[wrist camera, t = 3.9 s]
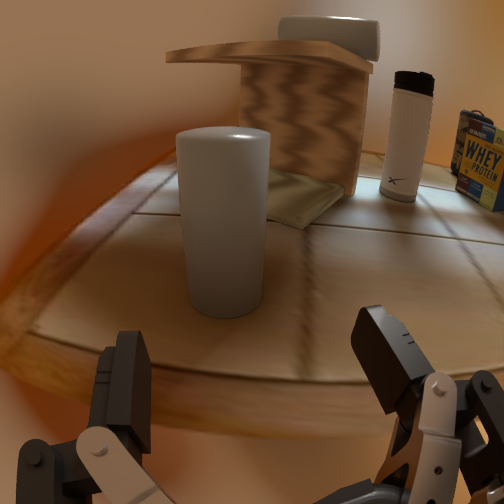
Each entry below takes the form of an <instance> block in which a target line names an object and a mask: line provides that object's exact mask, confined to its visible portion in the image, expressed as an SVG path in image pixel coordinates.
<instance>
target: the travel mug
mask: <svg viewBox="0 0 504 504" xmlns="http://www.w3.org/2000/svg"><path fill="white" fill-rule="evenodd" d="M434 81H435V79H434V78H433V77H432V75H430V74H428V73H425V72H420V73H417V72H410V71H397V72H395V81H394V82H395V84H394V88H393V91H394V93H393V98H392V109H391V117H390V124H389V132H388V139H387V146H386V153H385V159H384V165H383V171H382V177H381V182H380V188H379V190H380V192H381V193H382V194H383V195H385V196H387V197H389V198H391V199H394V200H397V201H402V202H412V201H414V200H415V199H416V195H417V190H418V186H419V182H420V177H421V172H422V167H423V162H424V157H425V152H426V146H427V140H428V134H429V127H430V120H431V113H432V105H433V103H432V101H433V91H434Z"/></svg>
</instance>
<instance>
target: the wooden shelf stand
mask: <svg viewBox="0 0 504 504" xmlns="http://www.w3.org/2000/svg"><path fill="white" fill-rule="evenodd" d="M166 63H220V64H237V65H241V82H240V127H246V128H254V129H259V130H263V131H266V132H268V133H270V135H271V138H270V159H269V180H268V199H267V218H268V219H271V220H274V221H277V222H280V223H283V224H286V225H289V226H292V227H295V228H298V229H301V230H303V229H304V228H305V227H306V226H308V225H309V224H310V223H311V222H312V221H314V220H315V219H316V218H317V217H318V216H320V215H321V214H322V213H323V212H324V211H325V210H327V209H328V208H329V207H330V206H331V205H333V204H334V203H335V202H336V201H337V200H339V199H340V198H341V197H342V196H343V195H344V194H345V195H348V196H352V195H353V194H354V193H355V189H356V183H357V177H358V170H359V163H360V156H361V149H362V141H363V133H364V123H365V115H366V105H367V95H368V82H369V74H373V64H372V63H370V62H368V61H367V60H365V59H363V58H361V57H359V56H357V55H355V54H353V53H352V52H350V51H348V50H346V49H344V48H342V47H339V46H337V45H335V44H333V43H331V42H328V41H304V40H278V41H277V40H276V41H252V42H239V43H226V44H216V45H208V46H200V47H194V48H187V49H181V50H175V51H170V52H166Z"/></svg>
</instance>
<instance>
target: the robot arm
mask: <svg viewBox="0 0 504 504" xmlns="http://www.w3.org/2000/svg"><path fill="white" fill-rule="evenodd" d="M351 345H352V348H353V351H354V353H355V355H356V357H357V358H358V360H359V362H360V364H361V366H362V368H363V370H364V372H365V374H366V376H367V378H368V380H369V382H370V384H371V386H372V388H373V390H374V392H375V394H376V396H377V398H378V400H379V402H380V404H381V406H382V408H383V410H384V412H385V414H386V415H387V414H390V413H393V412H395V411H396V412H397V414H398V416H397V418H396V421H395V425H394V429H393V433H392V437H391V441H390V445H389V449H388V453H387V456H386V459H385V461H384V463H383V465H382V466H381V468H380V470H379V471H378V474H377V476H376V478H375V481H374V483H371V480H370V479H367V480H364V481H361V482H358V483H356V484H353V485H350V486H347V487H344V488H340V489H339V490H337V491H335V492H334V493H332V494H330V495H328V496H327V497H325V498H323V499H321V500H319V501H317V502H315V503H313V504H452V503H453V498H454V494H455V488H456V483H457V477H458V471H459V468H460V470H461V472H462V474H463V477H464V480H465V482H466V485H467V487H468V490H469V493H470V495H471V500H470V503H468V504H504V391H503V389H502V388H501V386H500V384H499V383H498V381H497V379H496V378H495V377H494V376H493V375H492V374H491V373H490V372H488V371H484V370H480V371H477V372H476V373H475V374H474V375H473V377H472V378H471V379H470V380H457V381H453V379H452V378H451V377H450V376H448V375H446V374H444V373H440V372H435V370H434V369H433V368H432V366H431V365H430V363H429V361H428V360H427V358H426V357H425V355H424V354H423V352H422V351H421V349H420V348H419V346H418V345H417V343H415V341H414V339H413V338H412V336H411V335H409V332H408V330H407V329H406V327H405V326H404V325H403V323H402V322H400V321H399V320H398V319H396V318H395V317H394V316H389V315H388V313H387V312H386V311H385V309H384V308H383V307H382V306H381V305H374V306H368V307H362V308H361V309H360V311H359V314H358V317H357V320H356V323H355V326H354V328H353V331H352V334H351ZM150 408H151V363H150V358H149V355H148V352H147V349H146V346H145V343H144V340H143V336H142V333H141V331H120V332H119V333H118V336H117V342H116V347H106V348H105V350H104V351H103V353H102V354H101V356H100V357H99V360H98V365H97V374H96V376H95V384H94V388H93V395H92V401H91V408H90V417H89V423H88V426H87V428H86V430H85V431H83V432H82V433H81V434H80V436H79V437H78V438H77V439H75V440H73V441H70V442H66V443H61V444H56V445H51V446H50V445H48V444H47V443H46V442H45V441H42V440H40V439H32V440H29V441H27V442H26V443H25V444H24V445H23V446H22V448H21V449H20V452H19V459H18V469H17V484H16V504H92V494H96V493H101V492H103V493H104V494H105V496H106V497H107V498H108V499H109V501H110V502H111V503H112V504H177V503H176V502H175V501H174V500H173V499H172V498H171V497H170V496H169V495H168V494H167V493H166V492H165V491H164V490H163V489H162V488H161V487H160V485H158V483H157V482H156V481H155V480H154V479H153V478H152V477H151V476H150V474H149V473H148V472H147V471H146V470H145V469H144V468H143V467H142V454H150V453H151V440H150ZM477 415H478V417H479V419H480V421H481V423H482V425H483V427H484V429H485V430H486V433H487V434H488V438H489V441H488V444H486V443H485V441H484V439H483V438H482V435H481V433H480V431H479V429H478V427H477V425H476V423H475V421H474V418H475V417H476V416H477Z"/></svg>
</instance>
